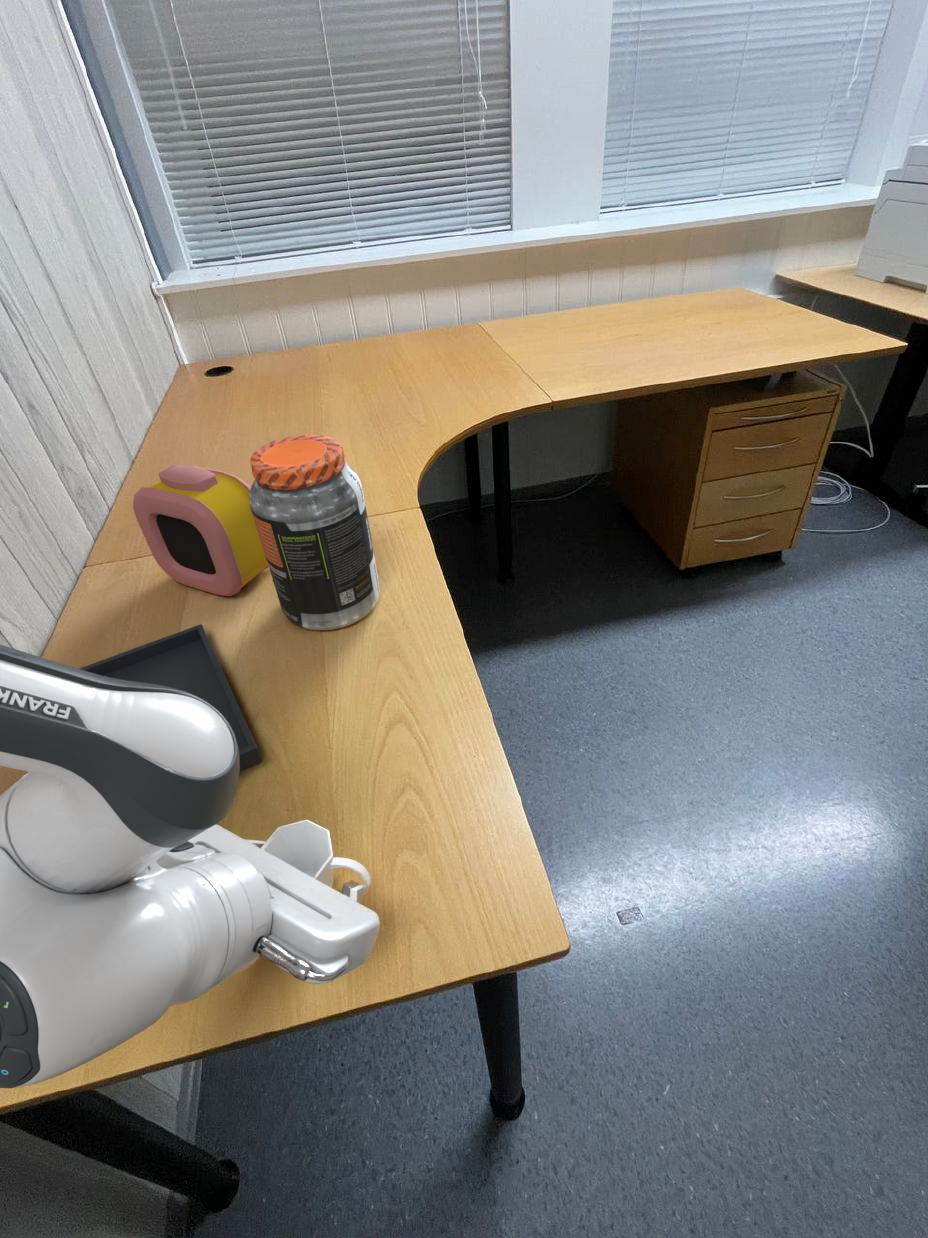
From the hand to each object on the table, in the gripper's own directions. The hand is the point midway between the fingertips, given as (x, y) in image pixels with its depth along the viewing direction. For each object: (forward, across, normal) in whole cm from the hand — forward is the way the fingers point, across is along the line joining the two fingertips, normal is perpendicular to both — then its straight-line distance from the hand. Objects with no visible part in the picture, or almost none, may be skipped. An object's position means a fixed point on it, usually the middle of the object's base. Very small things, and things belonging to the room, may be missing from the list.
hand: (317, 869), depth 58 cm
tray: (+9, +34, -2) cm, 35 cm away
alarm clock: (+29, +50, -22) cm, 62 cm away
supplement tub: (+31, +28, -24) cm, 48 cm away
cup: (+3, 0, +4) cm, 5 cm away
